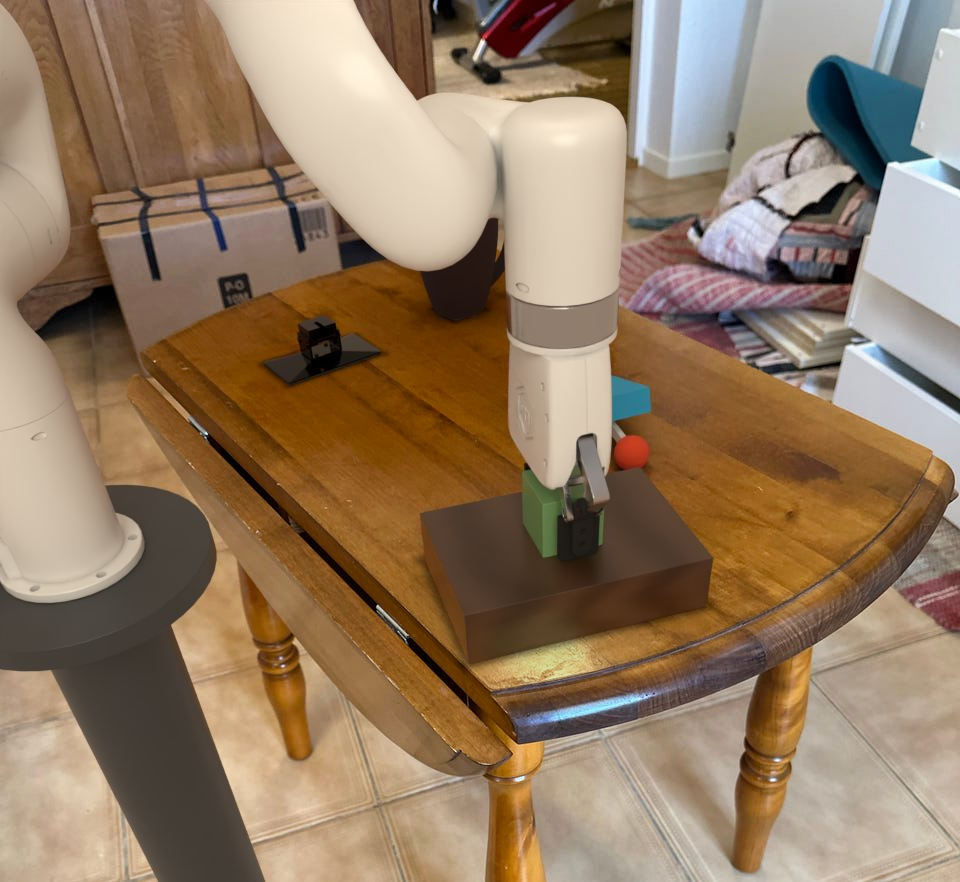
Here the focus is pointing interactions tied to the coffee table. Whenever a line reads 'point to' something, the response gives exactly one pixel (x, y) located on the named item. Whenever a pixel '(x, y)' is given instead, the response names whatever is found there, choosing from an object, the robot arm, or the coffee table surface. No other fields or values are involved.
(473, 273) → the cup
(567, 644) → the coffee table surface
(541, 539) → the green toy block
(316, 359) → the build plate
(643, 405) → the lever
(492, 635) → the block
